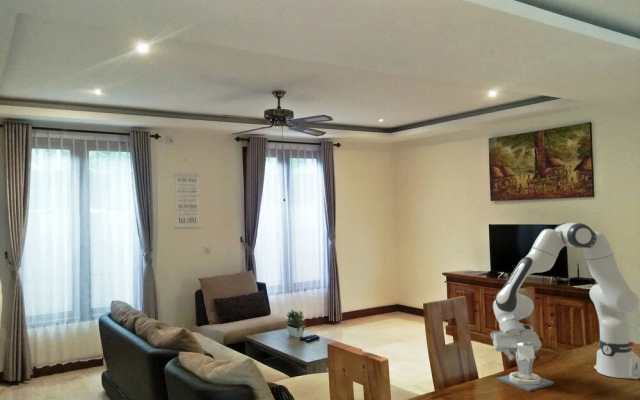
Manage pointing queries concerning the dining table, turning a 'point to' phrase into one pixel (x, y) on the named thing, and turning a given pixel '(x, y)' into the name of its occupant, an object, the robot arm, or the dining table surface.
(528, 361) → the beer glass
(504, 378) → the slate tile
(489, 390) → the dining table surface
